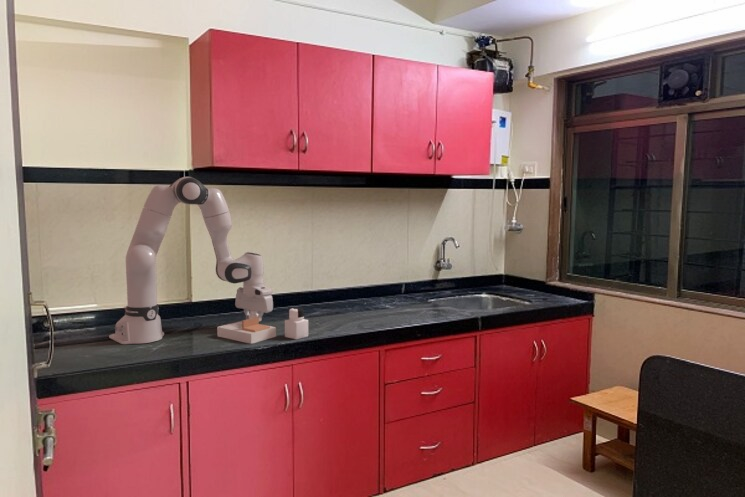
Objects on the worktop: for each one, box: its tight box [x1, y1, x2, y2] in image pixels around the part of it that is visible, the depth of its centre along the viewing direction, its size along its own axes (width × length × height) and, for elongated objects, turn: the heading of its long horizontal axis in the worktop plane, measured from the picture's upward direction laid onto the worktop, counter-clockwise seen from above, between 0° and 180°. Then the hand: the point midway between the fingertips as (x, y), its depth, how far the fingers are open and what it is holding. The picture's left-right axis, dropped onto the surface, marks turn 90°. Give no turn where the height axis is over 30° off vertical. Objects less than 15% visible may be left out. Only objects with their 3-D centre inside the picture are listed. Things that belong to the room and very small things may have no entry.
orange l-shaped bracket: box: [241, 317, 271, 332], centre depth 228 cm, size 8×8×4 cm
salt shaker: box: [249, 310, 259, 319], centre depth 246 cm, size 4×4×10 cm
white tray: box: [216, 320, 277, 344], centre depth 232 cm, size 20×14×4 cm
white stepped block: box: [284, 307, 309, 340], centre depth 232 cm, size 7×7×12 cm
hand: (253, 320), depth 246 cm, fingers closed on salt shaker, 5 cm apart
